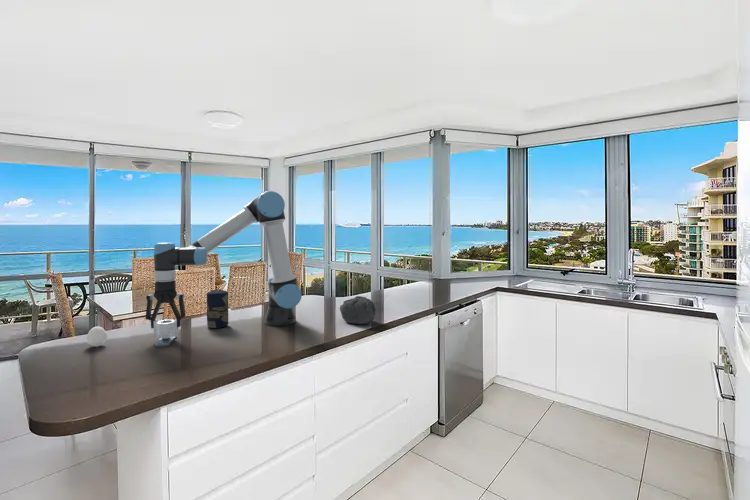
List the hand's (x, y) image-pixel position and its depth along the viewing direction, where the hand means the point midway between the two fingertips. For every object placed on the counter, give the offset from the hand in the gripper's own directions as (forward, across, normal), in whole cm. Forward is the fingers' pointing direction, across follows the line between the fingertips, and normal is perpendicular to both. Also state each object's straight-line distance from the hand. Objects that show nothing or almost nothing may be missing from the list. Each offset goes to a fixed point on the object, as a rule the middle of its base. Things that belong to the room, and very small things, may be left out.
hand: (166, 335), depth 155 cm
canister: (+3, -17, -20) cm, 26 cm away
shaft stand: (+2, 0, 0) cm, 2 cm away
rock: (+3, -85, -16) cm, 86 cm away
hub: (0, 0, 0) cm, 0 cm away
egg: (+3, +24, +2) cm, 24 cm away
